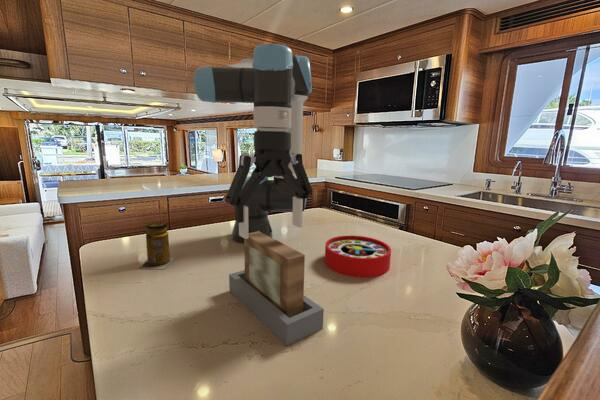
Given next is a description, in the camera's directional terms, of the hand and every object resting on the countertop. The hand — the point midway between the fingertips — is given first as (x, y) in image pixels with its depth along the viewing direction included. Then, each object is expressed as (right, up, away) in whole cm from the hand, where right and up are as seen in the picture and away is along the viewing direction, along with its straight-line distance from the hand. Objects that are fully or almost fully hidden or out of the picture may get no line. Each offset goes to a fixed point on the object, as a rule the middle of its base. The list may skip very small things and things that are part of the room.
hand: (272, 230), depth 65 cm
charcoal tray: (-1, -18, +4) cm, 18 cm away
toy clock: (+24, -13, +30) cm, 40 cm away
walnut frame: (0, -16, +3) cm, 17 cm away
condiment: (-37, -12, +25) cm, 46 cm away
